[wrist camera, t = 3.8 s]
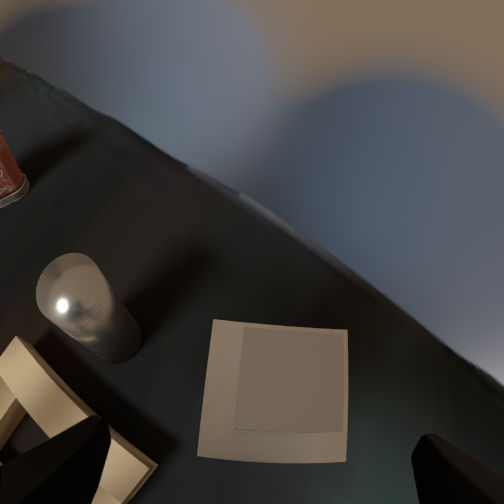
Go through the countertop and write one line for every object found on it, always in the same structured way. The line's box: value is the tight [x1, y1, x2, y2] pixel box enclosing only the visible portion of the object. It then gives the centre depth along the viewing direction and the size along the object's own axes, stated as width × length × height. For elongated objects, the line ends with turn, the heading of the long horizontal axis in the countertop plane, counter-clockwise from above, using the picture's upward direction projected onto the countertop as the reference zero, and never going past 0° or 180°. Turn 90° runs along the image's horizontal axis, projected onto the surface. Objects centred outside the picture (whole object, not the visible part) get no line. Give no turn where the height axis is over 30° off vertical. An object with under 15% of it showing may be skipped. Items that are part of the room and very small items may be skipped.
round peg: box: [36, 253, 142, 363], centre depth 15 cm, size 3×3×7 cm
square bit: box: [197, 319, 348, 463], centre depth 11 cm, size 4×4×12 cm
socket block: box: [0, 336, 158, 504], centre depth 12 cm, size 11×11×2 cm
